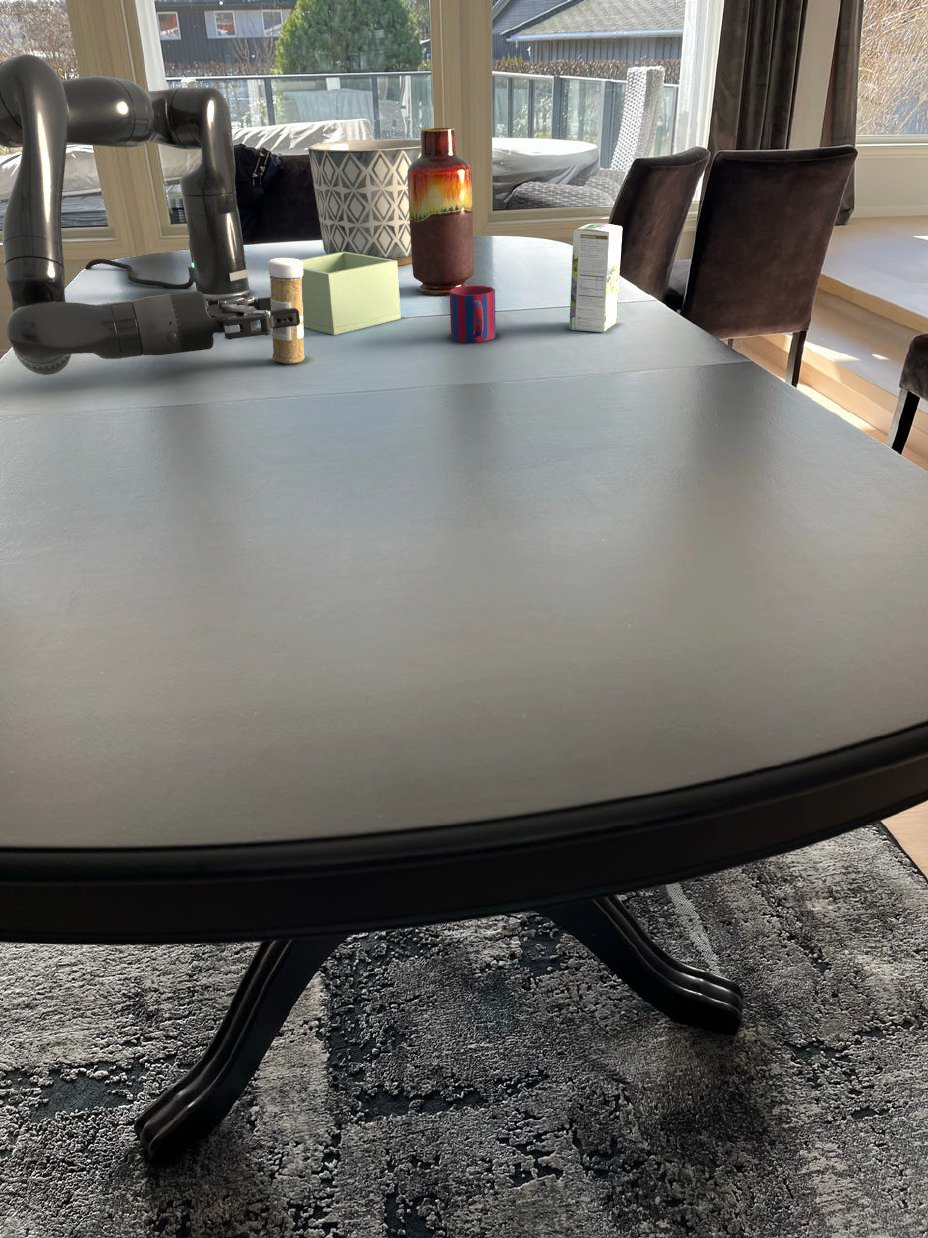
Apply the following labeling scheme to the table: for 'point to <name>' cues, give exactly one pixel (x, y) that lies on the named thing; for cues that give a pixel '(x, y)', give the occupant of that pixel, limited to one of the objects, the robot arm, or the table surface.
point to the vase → (440, 214)
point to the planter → (364, 196)
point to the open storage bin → (349, 292)
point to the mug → (472, 313)
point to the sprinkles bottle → (287, 296)
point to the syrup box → (595, 277)
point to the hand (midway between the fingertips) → (291, 309)
